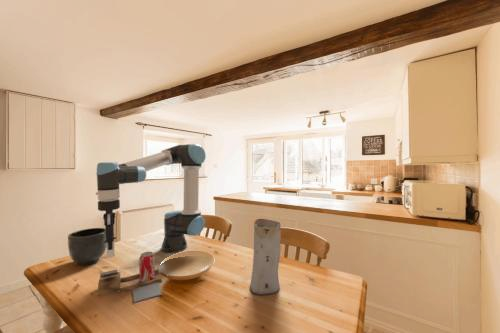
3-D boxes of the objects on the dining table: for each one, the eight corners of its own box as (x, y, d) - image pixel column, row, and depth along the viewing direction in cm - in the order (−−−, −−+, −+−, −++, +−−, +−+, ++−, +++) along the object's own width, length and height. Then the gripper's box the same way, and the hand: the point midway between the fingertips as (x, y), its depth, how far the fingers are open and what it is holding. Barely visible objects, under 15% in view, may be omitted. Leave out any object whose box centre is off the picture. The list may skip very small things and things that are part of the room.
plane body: (158, 272, 106) (158, 262, 106) (161, 281, 97) (161, 270, 97) (100, 286, 94) (100, 274, 94) (97, 298, 85) (97, 285, 85)
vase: (259, 301, 83) (260, 229, 83) (243, 283, 96) (244, 220, 95) (286, 292, 89) (288, 225, 89) (268, 276, 102) (269, 217, 101)
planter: (114, 258, 122) (114, 229, 122) (80, 272, 106) (79, 239, 106) (96, 253, 129) (95, 226, 129) (61, 265, 114) (60, 234, 113)
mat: (158, 283, 96) (158, 282, 96) (161, 294, 87) (161, 293, 87) (132, 289, 91) (132, 288, 91) (133, 303, 82) (133, 301, 82)
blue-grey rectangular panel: (118, 271, 94) (118, 269, 88) (118, 274, 93) (118, 271, 87) (100, 275, 90) (98, 273, 84) (100, 278, 90) (98, 276, 84)
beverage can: (148, 284, 95) (148, 257, 95) (136, 283, 96) (136, 256, 96) (157, 277, 101) (157, 251, 101) (145, 275, 102) (145, 250, 102)
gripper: (99, 198, 93) (101, 252, 93) (96, 203, 81) (98, 265, 82) (119, 196, 97) (121, 249, 97) (119, 201, 85) (121, 260, 86)
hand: (110, 256), depth 90 cm, fingers closed
